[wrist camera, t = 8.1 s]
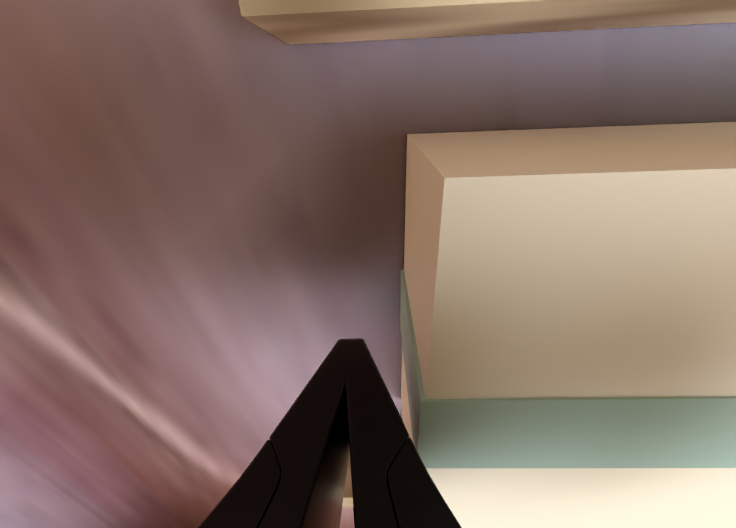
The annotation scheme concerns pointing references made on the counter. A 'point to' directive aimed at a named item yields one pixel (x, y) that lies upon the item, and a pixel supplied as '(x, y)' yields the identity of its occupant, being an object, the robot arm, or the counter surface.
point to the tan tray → (465, 25)
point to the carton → (573, 324)
